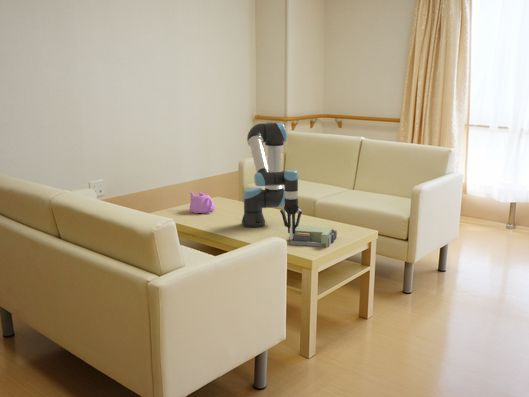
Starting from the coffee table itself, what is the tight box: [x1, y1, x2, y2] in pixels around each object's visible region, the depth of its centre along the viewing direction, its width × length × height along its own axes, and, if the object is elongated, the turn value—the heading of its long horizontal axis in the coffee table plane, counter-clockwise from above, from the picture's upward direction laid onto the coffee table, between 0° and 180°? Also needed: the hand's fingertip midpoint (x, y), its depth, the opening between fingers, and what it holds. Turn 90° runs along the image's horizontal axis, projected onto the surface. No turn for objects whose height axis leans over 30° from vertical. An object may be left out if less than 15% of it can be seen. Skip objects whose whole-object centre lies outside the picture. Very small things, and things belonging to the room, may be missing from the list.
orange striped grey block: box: [295, 233, 311, 242], centre depth 314 cm, size 8×5×5 cm, turn 72°
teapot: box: [189, 190, 216, 214], centre depth 396 cm, size 25×18×14 cm
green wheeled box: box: [290, 225, 338, 248], centre depth 318 cm, size 24×20×7 cm
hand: (291, 238), depth 316 cm, fingers closed
